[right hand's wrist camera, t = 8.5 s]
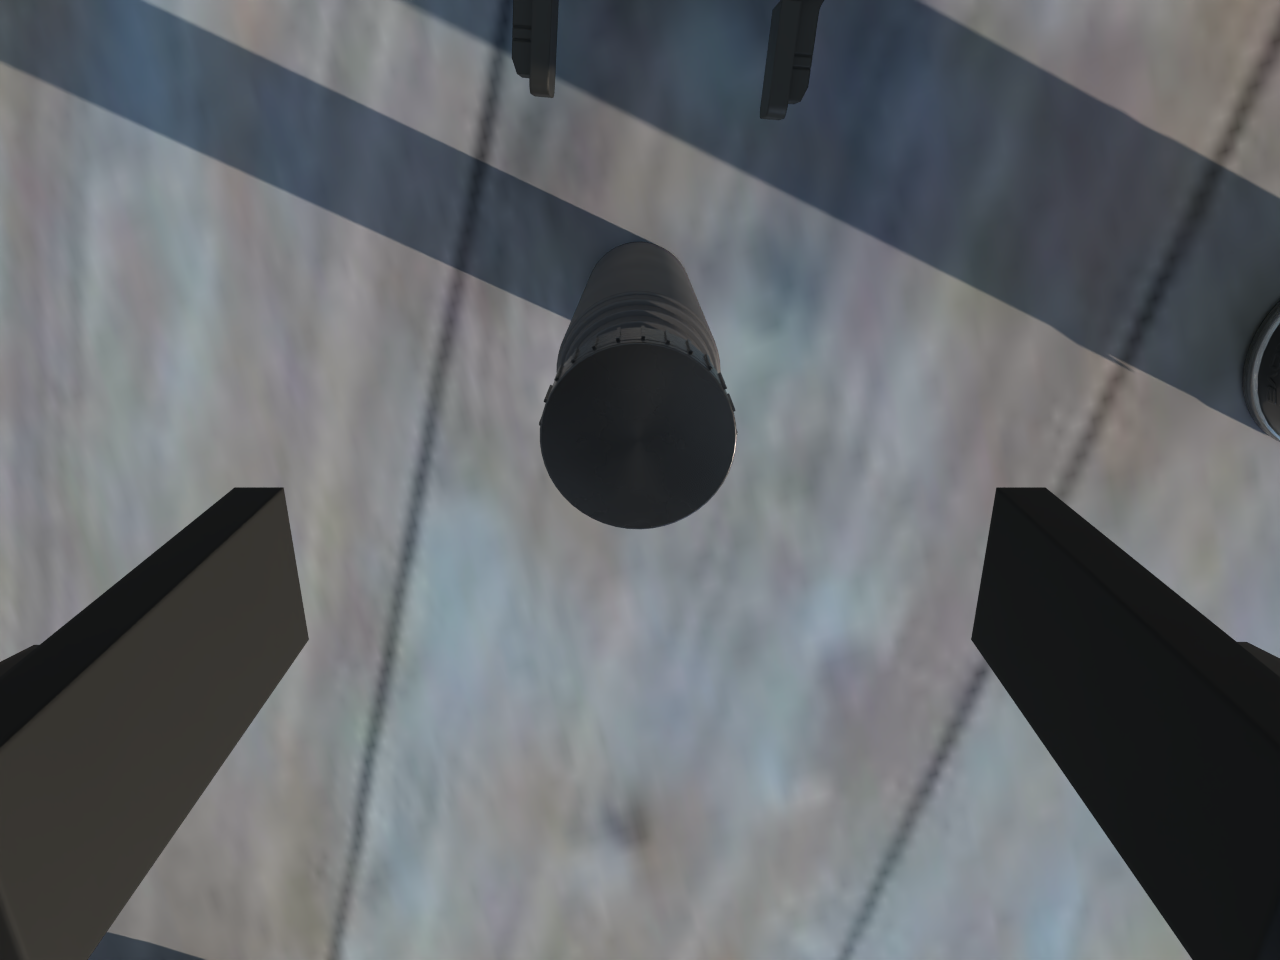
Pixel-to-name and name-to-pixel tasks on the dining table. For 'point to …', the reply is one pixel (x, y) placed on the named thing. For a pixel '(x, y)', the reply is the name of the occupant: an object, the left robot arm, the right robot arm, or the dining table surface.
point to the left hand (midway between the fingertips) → (658, 107)
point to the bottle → (639, 300)
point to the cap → (638, 428)
